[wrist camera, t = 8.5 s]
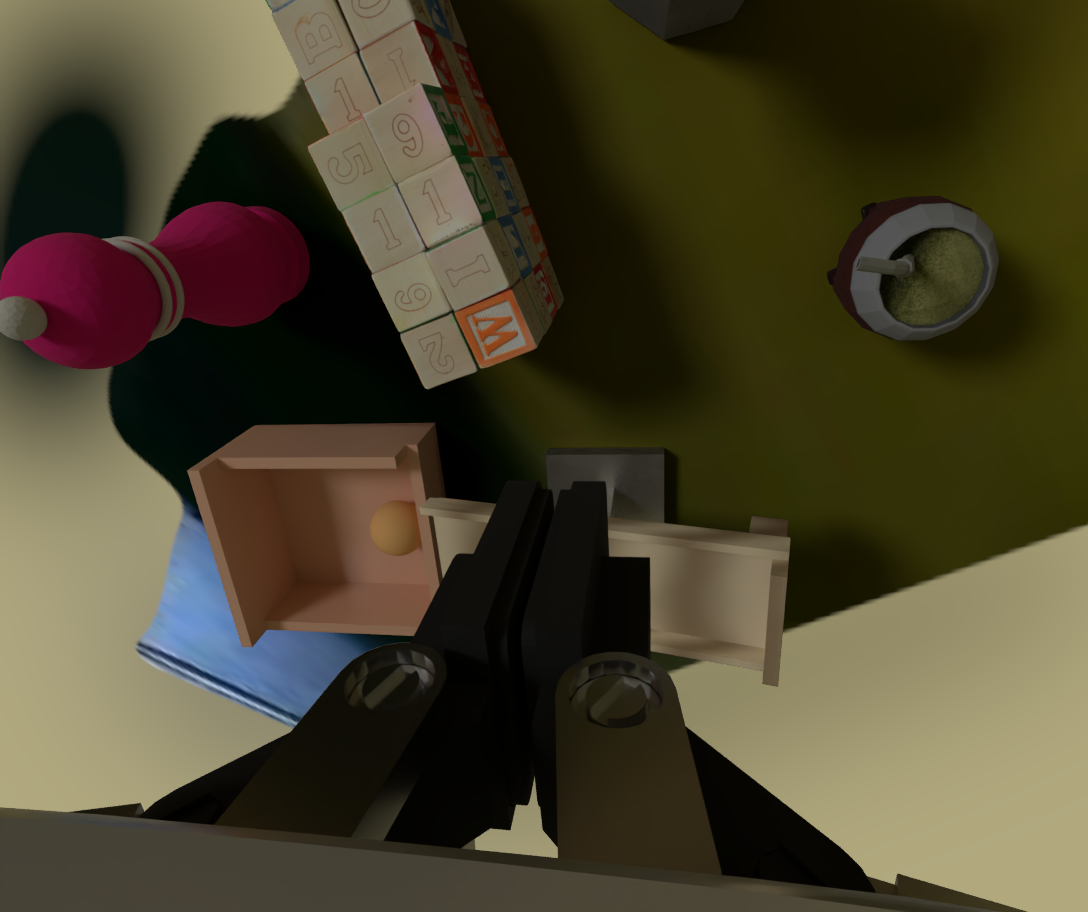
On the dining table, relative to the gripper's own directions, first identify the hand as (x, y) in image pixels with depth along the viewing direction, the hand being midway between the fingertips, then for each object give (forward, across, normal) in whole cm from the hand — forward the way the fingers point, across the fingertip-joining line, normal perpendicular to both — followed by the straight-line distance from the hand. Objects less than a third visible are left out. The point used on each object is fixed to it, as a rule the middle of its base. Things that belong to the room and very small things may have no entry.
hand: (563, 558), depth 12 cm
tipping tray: (+28, +2, +21) cm, 35 cm away
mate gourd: (+33, -14, 0) cm, 36 cm away
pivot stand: (+33, +2, +17) cm, 37 cm away
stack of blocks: (+34, +10, -7) cm, 36 cm away
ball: (+30, +17, +17) cm, 39 cm away
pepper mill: (+33, +24, -2) cm, 41 cm away
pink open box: (+33, +21, +17) cm, 43 cm away
